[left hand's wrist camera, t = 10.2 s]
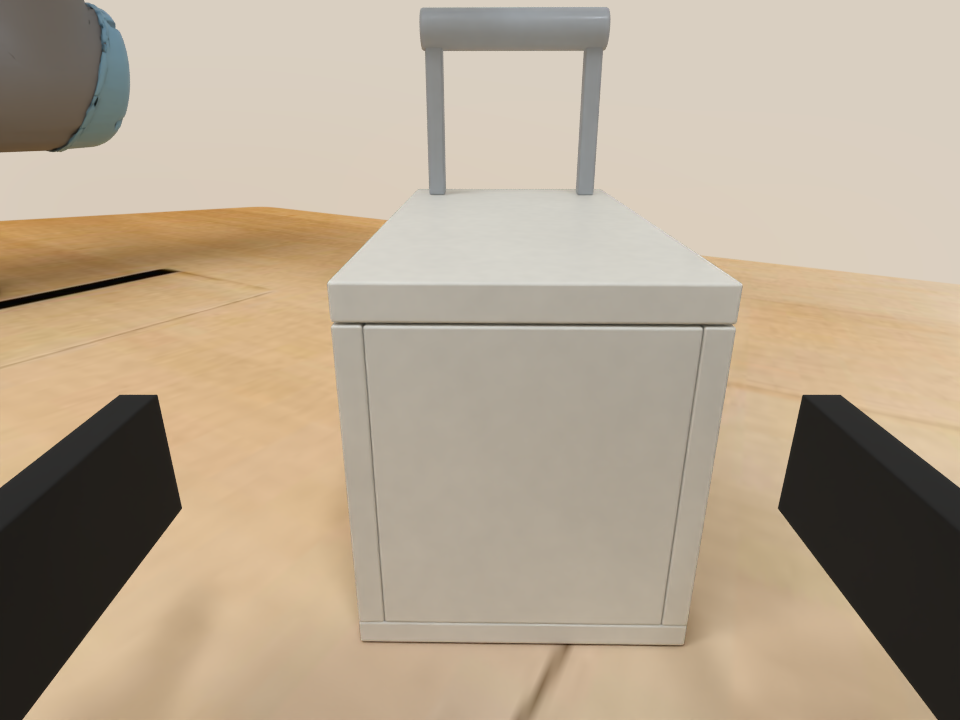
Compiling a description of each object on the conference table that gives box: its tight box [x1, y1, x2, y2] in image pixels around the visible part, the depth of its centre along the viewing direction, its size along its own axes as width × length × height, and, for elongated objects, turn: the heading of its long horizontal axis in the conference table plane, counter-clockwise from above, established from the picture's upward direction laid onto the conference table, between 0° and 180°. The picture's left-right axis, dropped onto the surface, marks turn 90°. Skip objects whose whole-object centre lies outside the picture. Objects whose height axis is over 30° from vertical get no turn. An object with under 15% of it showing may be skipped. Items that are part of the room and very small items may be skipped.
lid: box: [327, 7, 743, 324], centre depth 20 cm, size 18×9×8 cm, turn 179°
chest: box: [331, 322, 736, 645], centre depth 23 cm, size 17×9×9 cm, turn 179°
